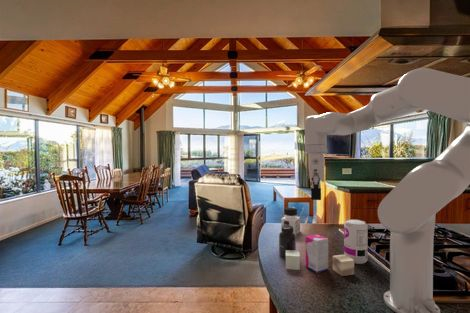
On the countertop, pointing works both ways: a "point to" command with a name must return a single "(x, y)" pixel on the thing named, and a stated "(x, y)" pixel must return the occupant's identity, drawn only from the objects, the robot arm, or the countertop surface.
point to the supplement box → (317, 253)
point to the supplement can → (355, 240)
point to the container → (291, 219)
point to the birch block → (343, 265)
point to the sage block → (292, 260)
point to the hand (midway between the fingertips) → (316, 197)
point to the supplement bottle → (286, 240)
